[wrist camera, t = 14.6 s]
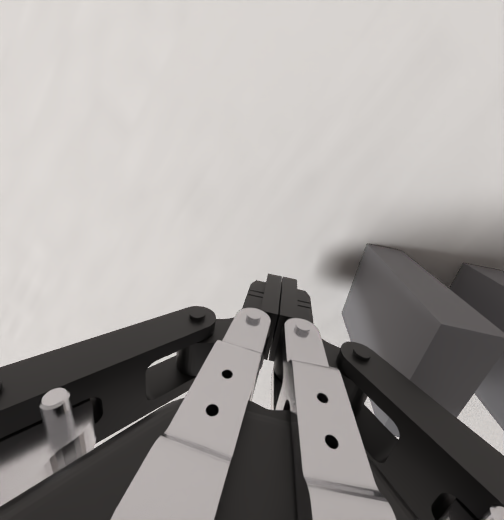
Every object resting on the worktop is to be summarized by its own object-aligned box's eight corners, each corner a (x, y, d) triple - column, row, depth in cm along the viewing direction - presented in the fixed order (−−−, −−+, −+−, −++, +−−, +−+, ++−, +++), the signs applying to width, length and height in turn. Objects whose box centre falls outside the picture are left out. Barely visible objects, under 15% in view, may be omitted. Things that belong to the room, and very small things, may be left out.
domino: (371, 319, 16) (436, 446, 9) (341, 313, 17) (380, 432, 9) (401, 250, 15) (512, 339, 7) (366, 243, 15) (440, 323, 7)
